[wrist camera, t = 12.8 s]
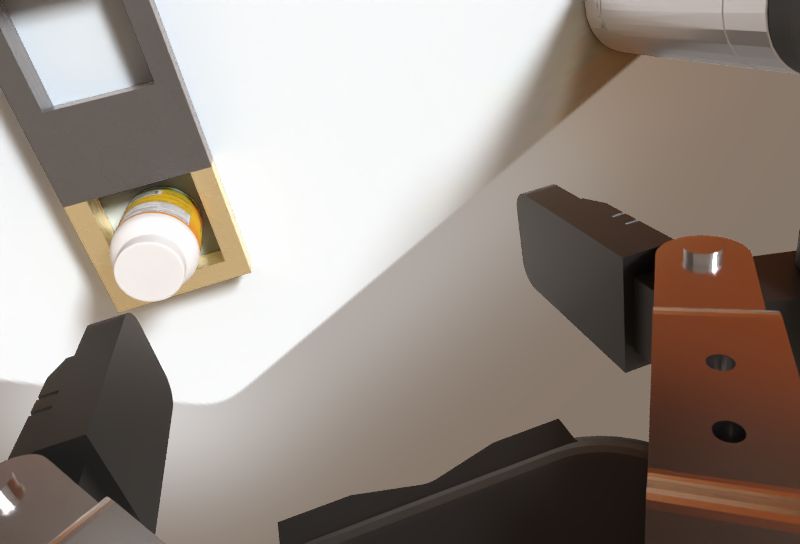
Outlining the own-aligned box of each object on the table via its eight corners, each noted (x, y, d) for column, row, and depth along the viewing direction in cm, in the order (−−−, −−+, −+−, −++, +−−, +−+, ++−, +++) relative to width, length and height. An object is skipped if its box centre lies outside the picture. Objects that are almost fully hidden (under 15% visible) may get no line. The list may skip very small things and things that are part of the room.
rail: (125, -77, 35) (118, -83, 33) (250, 259, 46) (251, 272, 44) (-48, -41, 33) (-68, -44, 31) (123, 297, 44) (118, 312, 42)
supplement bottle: (186, 263, 45) (176, 324, 36) (114, 236, 42) (86, 295, 34) (214, 203, 43) (211, 252, 35) (142, 172, 41) (119, 216, 32)
